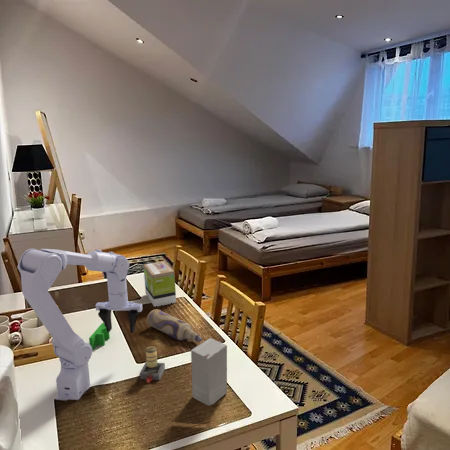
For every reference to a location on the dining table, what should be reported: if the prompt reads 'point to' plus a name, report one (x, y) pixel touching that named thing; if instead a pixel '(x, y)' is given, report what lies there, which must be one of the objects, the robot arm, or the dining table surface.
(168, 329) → the decorative bottle
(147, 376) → the stand base
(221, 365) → the skincare box
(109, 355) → the dining table surface
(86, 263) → the robot arm
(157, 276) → the tea box
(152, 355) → the small wooden barrel
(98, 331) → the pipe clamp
